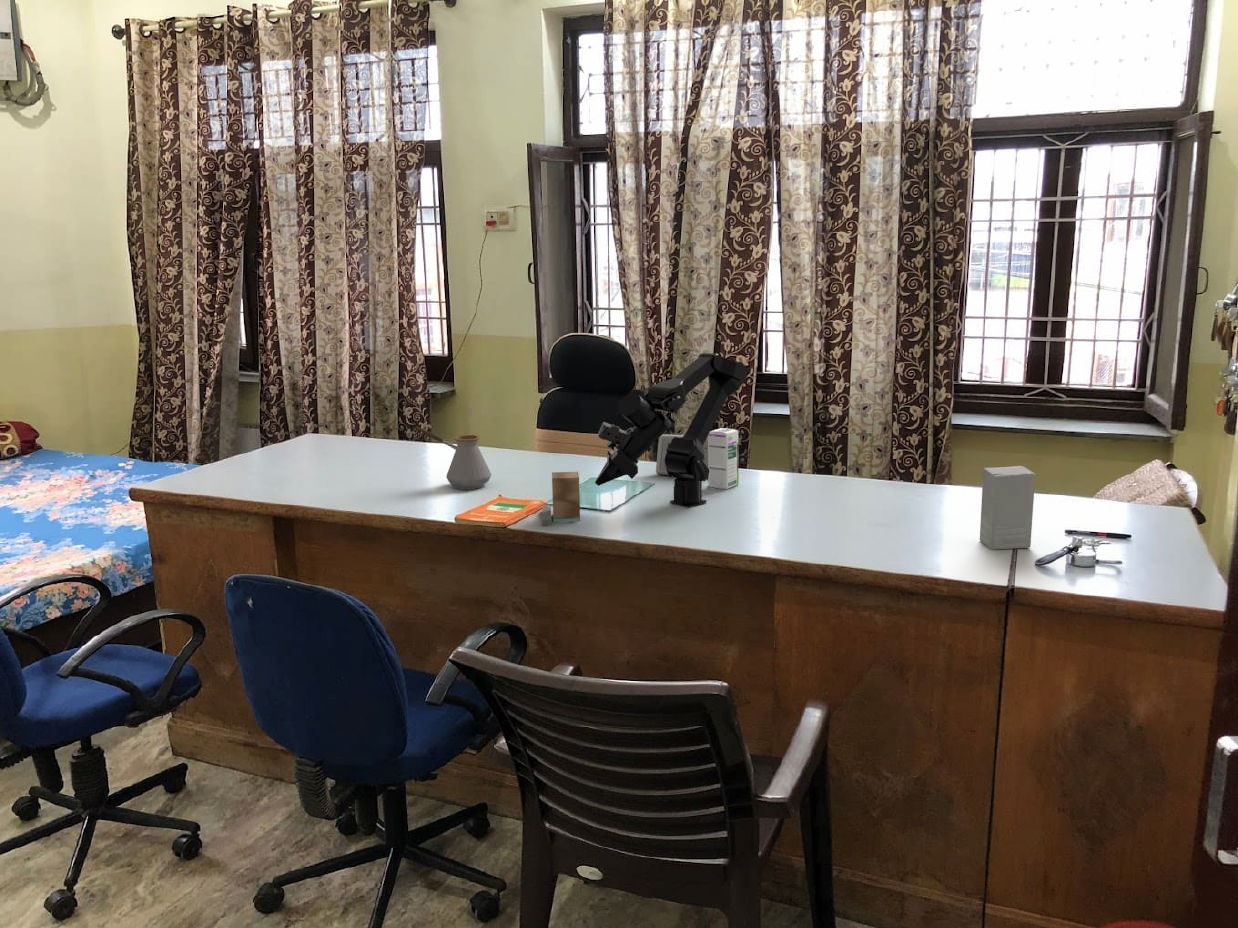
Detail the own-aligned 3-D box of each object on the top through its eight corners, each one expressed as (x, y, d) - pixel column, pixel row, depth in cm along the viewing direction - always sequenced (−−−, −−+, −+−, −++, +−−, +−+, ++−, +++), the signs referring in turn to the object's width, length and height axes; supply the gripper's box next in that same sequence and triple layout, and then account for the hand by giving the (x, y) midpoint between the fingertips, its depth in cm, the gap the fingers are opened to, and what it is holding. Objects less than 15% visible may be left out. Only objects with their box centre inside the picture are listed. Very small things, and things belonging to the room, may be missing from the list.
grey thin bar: (550, 511, 229) (550, 506, 228) (551, 525, 217) (551, 520, 217) (542, 511, 228) (542, 506, 228) (542, 525, 217) (542, 520, 216)
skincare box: (1017, 539, 201) (1022, 464, 198) (1032, 550, 194) (1038, 472, 191) (976, 540, 201) (981, 465, 197) (990, 551, 194) (995, 473, 190)
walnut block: (579, 513, 226) (578, 471, 224) (580, 520, 220) (579, 477, 218) (553, 514, 226) (551, 472, 223) (553, 521, 220) (552, 478, 218)
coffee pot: (499, 482, 257) (497, 426, 254) (478, 493, 247) (475, 434, 244) (429, 477, 265) (426, 422, 262) (405, 486, 254) (401, 430, 251)
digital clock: (652, 475, 263) (652, 436, 261) (668, 468, 271) (667, 430, 268) (707, 481, 255) (707, 441, 253) (721, 474, 262) (722, 435, 260)
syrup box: (727, 489, 246) (727, 432, 243) (707, 486, 249) (707, 430, 246) (738, 485, 250) (739, 429, 247) (719, 482, 254) (719, 427, 251)
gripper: (615, 403, 228) (569, 451, 229) (622, 417, 209) (571, 469, 211) (649, 436, 230) (603, 483, 231) (658, 452, 212) (608, 503, 213)
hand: (596, 484), depth 222 cm, fingers closed
